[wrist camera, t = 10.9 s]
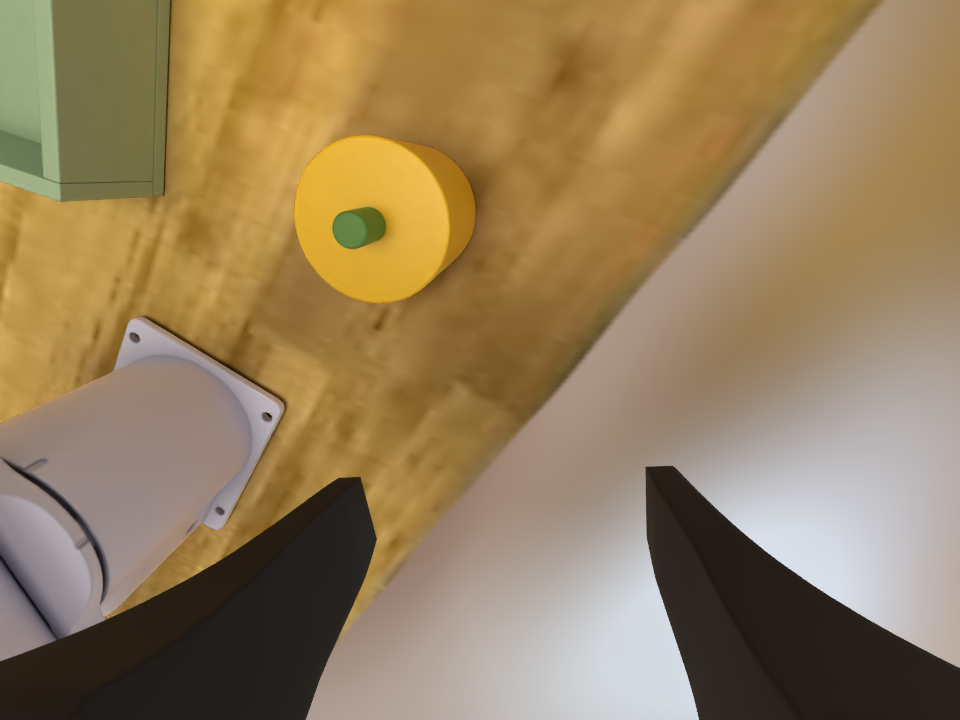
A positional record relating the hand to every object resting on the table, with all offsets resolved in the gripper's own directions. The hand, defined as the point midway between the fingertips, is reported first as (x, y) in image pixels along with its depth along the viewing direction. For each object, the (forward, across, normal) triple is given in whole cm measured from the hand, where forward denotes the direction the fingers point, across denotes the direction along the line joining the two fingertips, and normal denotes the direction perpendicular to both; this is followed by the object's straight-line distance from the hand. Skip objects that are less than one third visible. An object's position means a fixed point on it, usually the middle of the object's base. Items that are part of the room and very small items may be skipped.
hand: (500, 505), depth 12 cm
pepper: (+9, +4, -7) cm, 12 cm away
